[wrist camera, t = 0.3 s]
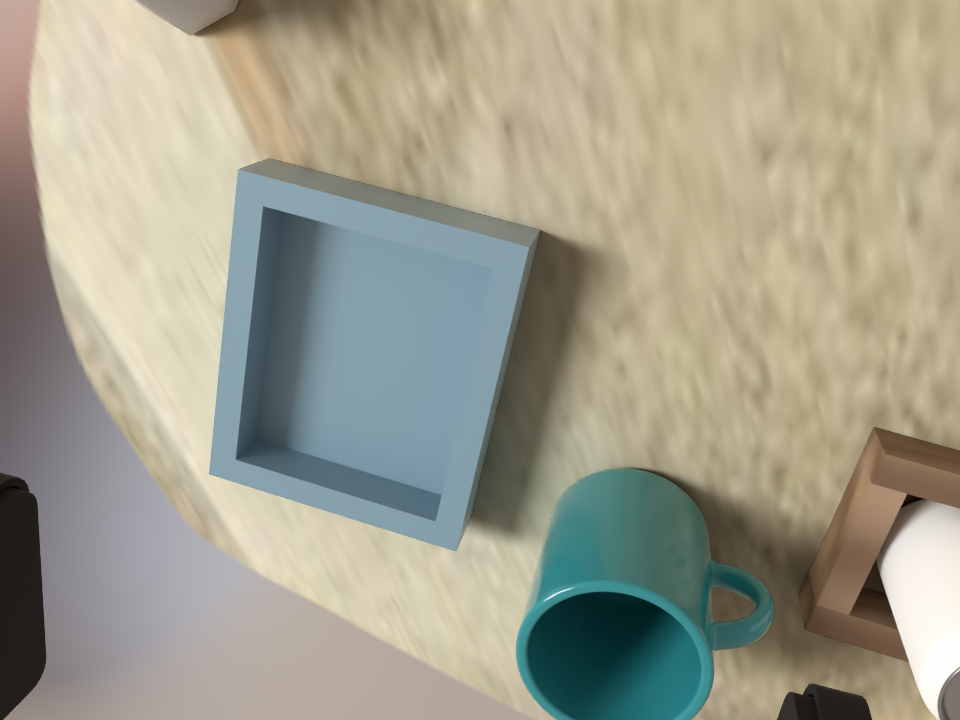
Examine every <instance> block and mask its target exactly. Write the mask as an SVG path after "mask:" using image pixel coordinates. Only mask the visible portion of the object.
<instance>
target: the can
mask: <svg viewBox="0 0 960 720" xmlns="http://www.w3.org/2000/svg"><path fill="white" fill-rule="evenodd" d="M876 562H877V566H878V569H879V573H880V576H881V579H882V582H883V585H884V588H885V591H886V594H887V597H888V600H889V603H890V606H891V609H892V612H893V615H894V618H895V621H896V624H897V627H898V630H899V633H900V636H901V639H902V642H903V645H904V648H905V651H906V654H907V657H908V660H909V663H910V666H911V669H912V672H913V675H914V678H915V681H916V683H917V686H918V689H919V691H920V694H921V696H922V698H923V700H924V702H925V704H926V706H927V707H928V709H929V710H930V712H931V713H932V714H933V715H934V716H935V717H936V718H937V719H938V720H960V509H959V508H955V507H952V506H948V505H945V504H941V503H938V502H934V501H931V500H927V499H922V500H919V501H916V502H913V503H911V504H909V505H906V506H905V507H903V508H901V509H900V510H899V512H898V514H897V516H896V518H895V520H894V522H893V524H892V527H891V529H890V531H889V533H888V535H887V537H886V539H885V541H884V543H883V545H882V547H881V549H880V552H879V554H878V556H877V558H876Z"/></svg>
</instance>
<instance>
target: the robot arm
mask: <svg viewBox="0 0 960 720" xmlns="http://www.w3.org/2000/svg"><path fill="white" fill-rule="evenodd" d="M39 542H40V541H39V525H38V507H37V500H36V498H35V496H34V495H33V494H31V493H29V489H28V485H27V484H26V482H25V481H24V480H22V479H20V478H18V477H14V476H11V475H6V474H3V473H0V720H3V719H4V718H5V717H6V716H7V715H8V714H9V713H10V712H11V711H12V710H13V709H14V708H15V707H16V706H17V705H18V704H19V703H20V702H21V701H22V700H23V699H24V698H25V697H26V696H27V695H28V694H29V693H30V692H31V691H32V690H33V688H34V687H35V686H36V685H37V683H38V681H39V680H40V678H41V676H42V674H43V671H44V668H45V664H46V645H45V628H44V611H43V593H42V576H41V558H40V543H39ZM777 720H872V718H871V714H870V710H869V707H868V704H867V702H866V700H865V699H864V698H863V697H862V696H859V695H855V694H851V693H847V692H843V691H839V690H835V689H832V688H828V687H824V686H820V685H816V684H809V685H808V686H807V688H806V689H805V691H804V693H803V695H801V694H798V693H794V692H789V693H788V694H787V695H786V697H785V699H784V702H783V705H782V707H781V710H780V713H779V716H778V718H777Z"/></svg>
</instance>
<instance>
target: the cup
mask: <svg viewBox="0 0 960 720" xmlns="http://www.w3.org/2000/svg"><path fill="white" fill-rule="evenodd" d="M712 587H717V588H722V589H726V590H729V591H732V592H734V593H737V594H739V595H741V596H742V597H744V598H745V599H746V600H747V601H749V602H750V604H751V605H752V606H753V608H754V611H753V612H752V613H751V614H749V615H748V616H746V617H744V618H742V619H739V620H736V621H730V622H715V621H714V619H713V613H712V589H711V588H712ZM773 617H774V603H773V599H772V597H771V594H770V592H769V590H768V589H767V587H766V586H765V585H764V584H763V583H762V582H761V581H760V580H759V579H757V578H756V577H755V576H753V575H751V574H750V573H748V572H746V571H744V570H742V569H740V568H737V567H734V566H731V565H727V564H723V563H719V562H714V561H712V559H711V554H710V540H709V533H708V528H707V525H706V522H705V519H704V517H703V515H702V513H701V511H700V509H699V508H698V506H697V505H696V504H695V502H694V501H693V500H692V499H691V497H690V496H689V495H688V494H687V493H686V492H684V491H683V490H682V489H681V488H680V487H678V486H677V485H675V484H674V483H672V482H671V481H669V480H667V479H665V478H663V477H661V476H659V475H656V474H653V473H650V472H647V471H643V470H637V469H628V468H619V469H609V470H604V471H600V472H596V473H593V474H591V475H588V476H586V477H584V478H582V479H581V480H579V481H577V482H576V483H574V484H573V485H572V486H571V487H569V488H568V489H567V490H566V491H565V492H564V493H563V495H562V496H561V497H560V498H559V500H558V501H557V503H556V505H555V506H554V509H553V511H552V513H551V516H550V519H549V523H548V526H547V530H546V533H545V537H544V541H543V544H542V548H541V552H540V555H539V559H538V562H537V566H536V570H535V573H534V577H533V581H532V584H531V588H530V591H529V595H528V599H527V602H526V606H525V610H524V613H523V617H522V620H521V624H520V628H519V631H518V636H517V641H516V660H517V665H518V669H519V672H520V675H521V678H522V680H523V682H524V684H525V686H526V688H527V689H528V691H529V693H530V694H531V695H532V697H533V698H534V699H535V701H536V702H537V703H538V704H539V705H540V706H541V707H542V708H543V709H544V710H545V711H546V712H547V713H549V714H550V715H551V716H552V717H554V718H555V719H557V720H691V719H692V718H694V717H695V716H696V714H697V713H698V712H699V711H700V710H701V708H702V707H703V706H704V704H705V702H706V701H707V699H708V697H709V695H710V692H711V689H712V685H713V680H714V651H716V650H724V649H733V648H739V647H743V646H747V645H749V644H752V643H754V642H756V641H758V640H759V639H760V638H762V637H763V636H764V635H765V634H766V632H767V631H768V630H769V628H770V626H771V624H772V621H773Z"/></svg>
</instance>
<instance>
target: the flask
mask: <svg viewBox="0 0 960 720" xmlns="http://www.w3.org/2000/svg"><path fill="white" fill-rule="evenodd" d="M133 1H134V2H136V3H137V4H139V5H141V6H142V7H144V8H145V9H147V10H149V11H150V12H152V13H154V14H155V15H157V16H159V17H160V18H162V19H164V20H165V21H167V22H169V23H170V24H172V25H174V26H175V27H177V28H179V29H180V30H182V31H184V32H185V33H187V34H189V35H190V36H191V35H192V34H194V33H196V32H198V31H200V30H201V29H203V28H205V27H207V26H209V25H210V24H212V23H214V22H216V21H217V20H219V19H221V18H223V17H225V16H226V15H228V14H230V13H232V12H234V11H235V9H236V6H237V4H238V1H239V0H133Z"/></svg>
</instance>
